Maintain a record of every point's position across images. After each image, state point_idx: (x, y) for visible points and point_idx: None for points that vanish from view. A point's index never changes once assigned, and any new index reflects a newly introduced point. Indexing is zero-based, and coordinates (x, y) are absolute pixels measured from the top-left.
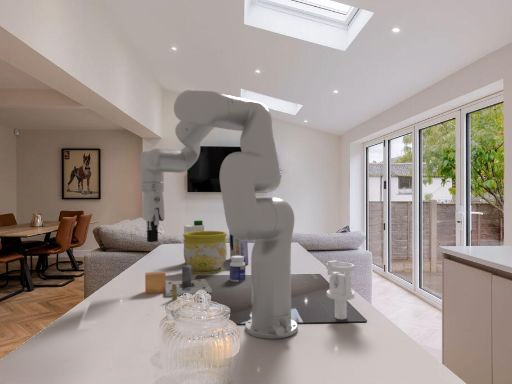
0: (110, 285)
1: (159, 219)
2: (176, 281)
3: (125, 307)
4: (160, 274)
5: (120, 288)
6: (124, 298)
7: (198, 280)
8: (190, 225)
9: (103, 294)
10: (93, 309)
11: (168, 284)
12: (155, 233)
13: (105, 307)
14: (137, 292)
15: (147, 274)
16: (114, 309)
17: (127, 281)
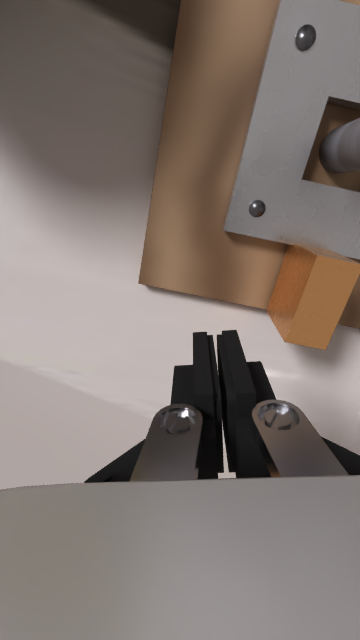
0: (59, 374)
1: (241, 494)
2: (245, 171)
3: (344, 374)
4: (351, 287)
5: (116, 354)
6: None
7: (307, 47)
8: None
9: (167, 403)
10: None
11: (277, 222)
12: (270, 396)
13: (306, 414)
14: (199, 317)
15: (327, 341)
16: (341, 399)
17: (18, 319)
